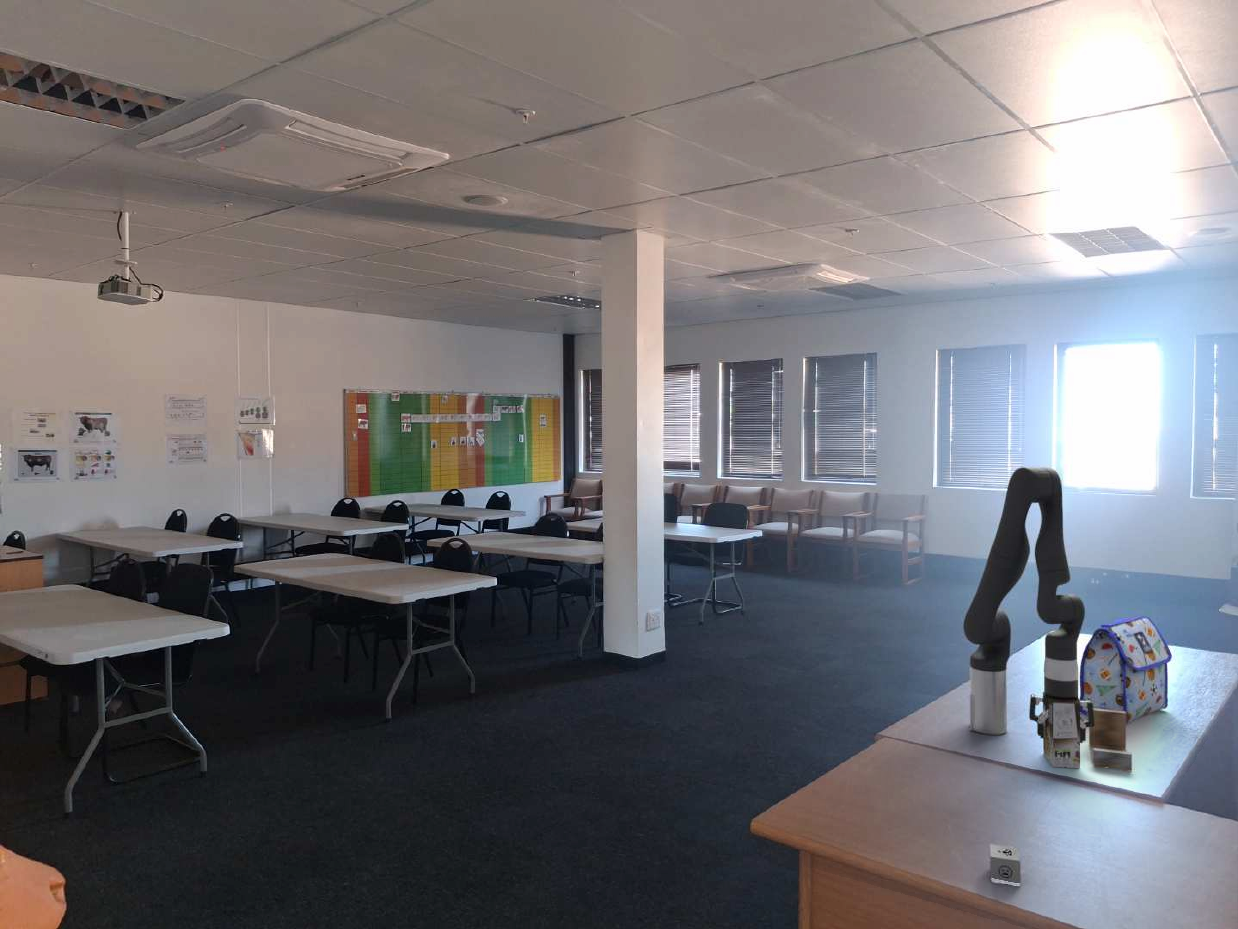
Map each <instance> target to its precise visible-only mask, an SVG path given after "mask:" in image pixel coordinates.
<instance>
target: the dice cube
mask: <svg viewBox="0 0 1238 929" xmlns="http://www.w3.org/2000/svg"><path fill="white" fill-rule="evenodd" d="M990 875H991V878H994V879H999V880H1004V881H1008V882H1014V883H1021V879H1022V878H1021V854H1020V848H1019V847H1013V846H1006V845H999V844H994V843H990V844H989V876H990Z"/></svg>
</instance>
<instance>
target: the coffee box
mask: <svg viewBox="0 0 1238 929" xmlns="http://www.w3.org/2000/svg"><path fill="white" fill-rule="evenodd" d="M1043 695H1044V691H1043V692H1042V696H1043ZM1044 709H1045V711H1047V710H1048V718H1047V719H1046V720H1045V721H1044V722H1043V724H1044V739H1043V738H1042V739H1043V742H1042V743H1043V745H1042V746H1043V750H1042V752H1043V753H1044V754H1045V755H1044V754H1043V755H1044V756H1045V758H1046V757H1047V758H1046V759H1047V760H1048V762H1049V761H1050V762H1049V763H1050V765H1051V767H1053V768H1064V767H1067V768H1069V769H1081V743H1080V716H1081V712H1080V703H1079V702H1078V701H1077V700H1073V699H1064V698H1048V708H1046V706H1045V705H1044V704H1043V703H1042V711H1043V710H1044Z"/></svg>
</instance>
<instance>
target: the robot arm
mask: <svg viewBox="0 0 1238 929" xmlns="http://www.w3.org/2000/svg"><path fill="white" fill-rule="evenodd" d="M1006 489H1007V490H1006V494H1005V499H1004V503H1003V509H1002V512H1001V516H1000V520H999V524H998V527H997V530H996V534H995V537H994V539H993V541H992V544H991V548H990V551H989V553H988V556H987V559H986V564H985V567H984V570H983V573H982V576H981V577H980V578H981V579H980V581H979V584H978V587H977V590H976V592H975V594H974V597H973V599H972V601H971V603H970V605H969V607H968V609H967V611H966V614H965V616H964V618H963V626H962V627H963V632H964V636H965V638H966V639H967V640H968V641H969V643H972V644H973V645H978V647H977V649H976V650H975V651H974V652H972V654H971V655H970V656H969V689H970V690H969V731H972V732H973V731H974V732H976V733H979V734H984V735H991V736H992V735H1002V734H1006V733H1007V731H1008V712H1007V711H1008V704H1007V703H1008V702H1007V701H1008V700H1007V699H1008V694H1007V693H1008V692H1007V689H1008V687H1007V684H1008V683H1007V681H1008V679H1007V677H1008V676H1007V675H1008V674H1007V668H1008V667H1007V666H1008V665H1007V664H1008V661H1009V659H1010V655H1011V639H1012V638H1011V636H1012V630H1011V629H1012V628H1011V622H1010V619H1009V616H1008V614H1007V613H1006V612H1005V611H1004V610H1002V609H1001V608H1000V606H1001V604H1002V602H1003V600H1004V599H1005V598H1006V596H1007V595H1008V594H1009V593H1010V592H1011V591H1012V589H1013V588H1014V587H1015V586H1016V585H1017V583H1018V582H1019V581H1020V579H1021V578H1022V576H1023V574H1024V572H1025V569H1026V566H1027V564H1028V562H1029V557H1030V554H1031V547H1030V546H1031V545H1030V541H1029V537H1028V534H1027V530H1026V522H1027V521H1026V520H1027V517H1028V514H1029V510H1030V508H1031V507H1032V504H1038V506H1039V509H1040V510H1039V511H1040V515H1041V520H1040V521H1041V522H1040V528H1039V533H1038V535H1037V538H1036V542H1035V545H1034V546H1035V547H1034V559H1035V565H1036V570H1037V575H1038V586H1037V587H1038V589H1037V597H1036V612H1037V615H1038V617H1039V619H1040V620H1041V621H1042V622H1043V623H1045V624H1047V625H1059V626H1058V628H1057V629H1056V630H1054V631H1053V630H1052V631H1051V632H1048V633H1047V634H1046V635H1045V638H1044V661H1043V662H1044V663H1043V692H1044V695H1043V694H1042V696H1039V695H1035V694H1034V693H1032V694H1030V698H1029V710H1028V711H1029V713H1028V715H1029V720H1031V721H1033V722H1036V726H1037V728H1036V731H1037V732H1036V733H1037V736H1039V737H1040V739H1044V724H1043V722H1044V721H1045V720H1046V719H1047V718H1048V710H1047V711H1045V709H1044V710H1043V709H1042V711H1041V713H1039V715H1037V714H1036V706H1039V705H1040V703H1042V705H1043V704H1044V705H1045V706H1046V708H1048V698H1064V699H1073V700H1077V701H1078V702H1079V703H1080V706H1083V707H1084V709H1085V710H1087V713H1088V715H1087V720H1084V718H1082V717H1081V715H1080V744H1083V742H1086V736H1087V735H1086V733H1087V731H1086V729H1087V728H1089V727H1094V712H1093V703H1092V701H1091V700H1087V701H1080V700H1079V699H1080V697H1079V663H1078V640H1079V637H1080V634H1081V631H1082V627H1083V624H1084V619H1085V616H1086V608H1085V605H1084V603H1083V601H1082V599H1081V598H1080V597H1079V596H1077V595H1075V594H1072V593H1071V594H1070V593H1068V594H1066V593H1065V594H1057V590H1058V587H1059V586H1062V585H1065V584H1067V583H1070V580H1071V573H1070V568H1069V563H1068V557H1067V553H1066V546H1065V540H1064V511H1063V510H1064V509H1063V486H1062V480H1061V477H1060V475H1059V473H1058V472H1057V471H1056V470H1055V469H1054V468H1051V467H1047V466H1022V467H1021V466H1020V467H1018V468H1016V470H1014V471H1013V473H1012V474H1011V477H1010V478H1009V481H1008V486H1007V488H1006Z"/></svg>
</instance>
